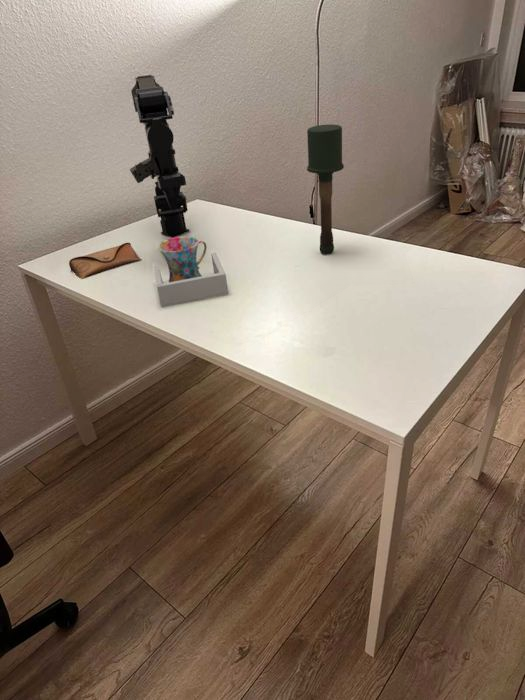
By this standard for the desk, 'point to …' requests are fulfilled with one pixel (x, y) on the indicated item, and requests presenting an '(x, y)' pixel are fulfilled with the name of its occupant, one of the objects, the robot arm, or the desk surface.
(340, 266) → the desk surface
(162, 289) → the grey open tray
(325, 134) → the stick grenade
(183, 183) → the robot arm
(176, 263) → the mug
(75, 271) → the sunglasses case
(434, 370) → the desk surface
